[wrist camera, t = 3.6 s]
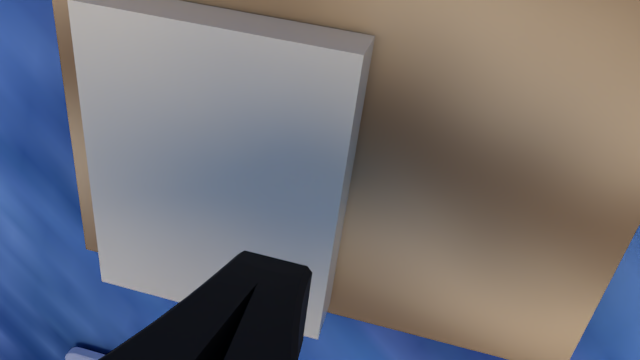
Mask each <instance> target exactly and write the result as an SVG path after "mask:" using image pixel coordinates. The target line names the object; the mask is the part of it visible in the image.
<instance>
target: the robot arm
mask: <svg viewBox="0 0 640 360" xmlns="http://www.w3.org/2000/svg"><path fill="white" fill-rule="evenodd" d="M311 279H312V271H311V270H310V269H309V267H308V266H305V265H301V264H297V263H293V262H289V261H285V260H281V259H277V258H273V257H269V256H265V255H261V254H257V253H253V252H249V251H245V250H244V251H243V252H241V253H239V254H238V255H236V256H235V257H234V258H233V259H232V260H231V261H229V262H228V263H227V264H226V265H225V266H224V267H222V268H221V269H220V270H219V271H218V272H217V273H215V274H214V275H213V276H212V277H211V278H209V279H208V280H207V281H206V282H204V283H203V284H202V285H201V286H200V287H198V288H197V289H196V290H195V291H193V292H192V293H191V294H190V295H188V296H187V297H186V298H184V299H183V300H182V301H180V302H179V303H178V304H177V305H175V306H174V307H173V308H171V309H170V310H169V311H167V312H166V313H165V314H163V315H162V316H161V317H160V318H158V319H157V320H155V321H154V322H153V323H151V324H150V325H149V326H147V327H146V328H144V329H143V330H141V331H140V332H138V333H137V334H135V335H134V336H133V337H131V338H130V339H128V340H127V341H125V342H124V343H122V344H121V345H120V346H118V347H117V348H115V349H114V350H112V351H111V352H109V353H108V354H106V355H104V354H101V353H97V352H94V351H91V350H87V349H84V348H80V347H74V348H72V349H71V350H70V351H69V352H68V353H67V354H66V356H65V360H298V357H299V353H300V349H301V346H302V342H303V336H304V329H305V321H306V314H307V307H308V300H309V293H310V286H311Z"/></svg>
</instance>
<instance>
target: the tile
mask: <svg viewBox="0 0 640 360" xmlns="http://www.w3.org/2000/svg"><path fill="white" fill-rule="evenodd" d="M67 2H68V10H69V18H70V27H71V35H72V43H73V51H74V59H75V67H76V75H77V83H78V92H79V100H80V108H81V116H82V124H83V132H84V140H85V148H86V157H87V165H88V173H89V181H90V189H91V197H92V205H93V213H94V222H95V230H96V238H97V246H98V254H99V262H100V270H101V278H102V282H106V283H110V284H113V285H117V286H121V287H125V288H128V289H132V290H136V291H139V292H143V293H147V294H150V295H154V296H158V297H162V298H165V299H169V300H173V301H176V302H180V301H182V300H183V299H184V298H186V297H187V296H188V295H190V294H191V293H192V292H193V291H195V290H196V289H197V288H198V287H200V286H201V285H202V284H203V283H204V282H206V281H207V280H208V279H209V278H211V277H212V276H213V275H214V274H215V273H217V272H218V271H219V270H220V269H221V268H222V267H224V266H225V265H226V264H227V263H228V262H229V261H231V260H232V259H233V258H234V257H235V256H236V255H238V254H239V253H241V252H243V251H244V250H245V251H249V252H253V253H257V254H261V255H265V256H269V257H273V258H277V259H281V260H285V261H289V262H293V263H297V264H301V265H305V266H308V267H309V269H310V270H311V271H312V279H311V286H310V293H309V300H308V307H307V314H306V321H305V329H304V336H306V337H310V338H314V339H317V340H318V338H319V335H320V332H321V329H322V326H323V323H324V320H325V317H326V314H327V311H328V307H329V304H330V300H331V294H332V288H333V282H334V276H335V270H336V264H337V259H338V253H339V247H340V241H341V235H342V229H343V223H344V217H345V211H346V205H347V199H348V193H349V187H350V182H351V176H352V170H353V164H354V158H355V152H356V146H357V140H358V134H359V128H360V122H361V116H362V111H363V105H364V99H365V93H366V87H367V81H368V75H369V69H370V63H371V57H372V51H373V45H374V39H375V36H373V35H367V34H362V33H356V32H351V31H345V30H340V29H334V28H329V27H323V26H318V25H312V24H307V23H301V22H296V21H290V20H285V19H279V18H274V17H268V16H263V15H257V14H252V13H246V12H241V11H235V10H230V9H224V8H219V7H213V6H208V5H202V4H197V3H191V2H186V1H180V0H67Z"/></svg>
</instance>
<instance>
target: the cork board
mask: <svg viewBox="0 0 640 360" xmlns="http://www.w3.org/2000/svg"><path fill="white" fill-rule="evenodd" d="M180 1H186V2H191V3H197V4H202V5H208V6H213V7H219V8H224V9H230V10H235V11H241V12H246V13H252V14H257V15H263V16H268V17H274V18H279V19H285V20H290V21H296V22H301V23H307V24H312V25H318V26H323V27H329V28H334V29H340V30H345V31H351V32H356V33H362V34H367V35H373V36H375V39H374V45H373V51H372V57H371V63H370V69H369V75H368V81H367V87H366V93H365V99H364V105H363V111H362V116H361V122H360V128H359V134H358V140H357V146H356V152H355V158H354V164H353V170H352V176H351V182H350V187H349V193H348V199H347V205H346V211H345V217H344V223H343V229H342V235H341V241H340V247H339V253H338V259H337V264H336V270H335V276H334V282H333V288H332V294H331V300H330V304H329V307H328V311H327V312H329V313H333V314H337V315H340V316H344V317H348V318H352V319H356V320H360V321H363V322H367V323H371V324H375V325H379V326H383V327H386V328H390V329H394V330H398V331H402V332H405V333H409V334H413V335H417V336H421V337H425V338H428V339H432V340H436V341H440V342H444V343H448V344H451V345H455V346H459V347H463V348H467V349H471V350H474V351H478V352H482V353H486V354H490V355H494V356H497V357H501V358H505V359H509V360H570V358H571V356H572V354H573V352H574V350H575V348H576V346H577V344H578V342H579V340H580V338H581V337H582V335H583V333H584V331H585V329H586V327H587V325H588V323H589V321H590V319H591V317H592V315H593V313H594V311H595V309H596V307H597V306H598V304H599V302H600V300H601V298H602V296H603V294H604V292H605V290H606V288H607V286H608V284H609V282H610V280H611V278H612V277H613V275H614V273H615V271H616V269H617V267H618V265H619V263H620V261H621V259H622V257H623V255H624V253H625V251H626V249H627V248H628V246H629V244H630V242H631V240H632V238H633V236H634V234H635V232H636V230H637V228H638V226H639V224H640V0H180ZM52 4H53V11H54V18H55V26H56V33H57V40H58V48H59V55H60V62H61V69H62V77H63V84H64V91H65V99H66V106H67V113H68V120H69V128H70V135H71V142H72V150H73V157H74V164H75V171H76V179H77V186H78V193H79V201H80V208H81V215H82V222H83V230H84V237H85V244H86V249H88V250H92V251H95V252H98V246H97V238H96V230H95V222H94V213H93V205H92V197H91V189H90V181H89V173H88V165H87V157H86V148H85V140H84V132H83V124H82V116H81V108H80V100H79V92H78V83H77V75H76V67H75V59H74V51H73V43H72V35H71V27H70V18H69V10H68V2H67V0H52Z"/></svg>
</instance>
